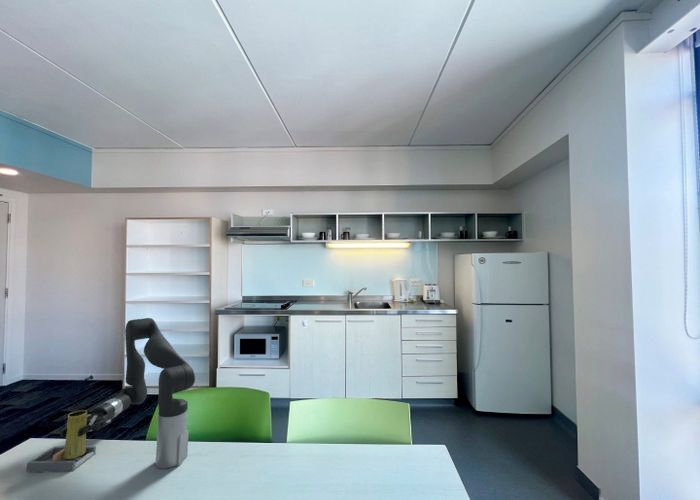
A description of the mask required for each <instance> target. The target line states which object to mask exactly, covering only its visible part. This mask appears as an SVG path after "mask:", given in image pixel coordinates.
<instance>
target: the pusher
mask: <svg viewBox="0 0 700 500" xmlns="http://www.w3.org/2000/svg"><path fill="white" fill-rule="evenodd" d="M64 449H65V448H64ZM64 449H63V450H61V451H59V452H58V453H56V454H55V455H53V461H66V460H67V459H64V458H63V456H64Z"/></svg>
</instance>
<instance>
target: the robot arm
mask: <svg viewBox="0 0 700 500" xmlns="http://www.w3.org/2000/svg"><path fill="white" fill-rule="evenodd" d="M124 333H125V337H124V339H125V353H126V371H125V383H126V384H127V385H128V386H126V387H124V388H122V389H121V390H120V392H119V393H117V394H116V395H115V396H114V397H112V398H111V399H108V400H106V401H105V402H103V403H101V404H99V405H97V406H95V407H93V408H92V409H91V410H90V411H89V413H87V425H86V426H85V427H83V428H82V429H80V430H79V431H78V437H80V436H82V435H84V434H86V435H87V433H88V432H92V431H96V432H97V431H99V430H101V429H102V428H104V427H106V426H108V425H110V424H111V422H112V419H114V418H116V417H117V416H118V415H119V414H120V413H123V412H125V410H127V409H128V408H129V406H130V405H141V404H142V403H144V402H145V400H146V398H147V395H148V388H147V384H146V379H145V372H146V362H145V360H144V358H143V356H142V355H141V354H140V352H139V351H138V349H137V348H136V341H139V340H144V339H148V340H147V341H146V343H145V344H144V348H143V354H144V356H145V358H146V359H147V361H148V362H149V363H150V364H151V365H152V366H155V367H158V368H160V369H162V370H161V371H160V373H159V376H158V403H157V404H158V416H157V417H158V419H157V432H156V433H157V434H156V448H155V449H156V450H155V467H156V468H158V469H165V470H166V469H170V468H173V467H177V466H180V465H181V464H182V463H183V462H184V460H186V458H187V457H188V451H189V448H188V447H189V431H190V429H187V427H188V425H187V424H188V409H189V408H188V407H189V406H188V401H187V400H186V399H183V398H174V397H173V395H174V394H177V393H180V392H184V391H186V390H189V389H191V388H192V387H193V386H194V385H195V382H196V374H195V371H194V369H193V367H192V366H191V365H190V364H189V363H188V362H187V361H186V360H185V359H184V358H183V357H181V355H179V354H178V353H177V351H175V349H174V348H173V346H172V345H171V343H170V342H169V340H167V339H166V337H165V336H164V334H162V332H161V330H160V328H159V327H158V324H157V323H156V321H155V320H154V318H152V317H145V318H137V319H136V318H135V319H130V320H128V321H127V323H126V326H125V329H124ZM59 433H60V435H59V437H60V438H63V437H66V433H67V422H65V424H64V428H63V429H61V430H60V432H59Z"/></svg>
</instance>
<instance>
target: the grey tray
mask: <svg viewBox="0 0 700 500" xmlns="http://www.w3.org/2000/svg"><path fill="white" fill-rule="evenodd" d="M64 448H65V445H56V446H53V447H51V448H49V449H48V450H46V451H44V452H43V453H41V454H40V455H38V456H36V457H35V458H33V459H31V460H30V461H28V462H26V470H25V471H26V473H59V472H60V473H64V472H65V473H71V472H74V471H75V470H76V469H77V468H79V467H80V466H82V465H83V464H85V462H87V461H88V460H90V459H91V458H92V457H94V456H95V455H96V452H97V451H96V450H97V446H96V445H86V452H85V453H84V454H83V455H81V456H79V457H77V458H73V459H67V460H66V461H53V455H55V454H56V453H58V452H59V451H61V450H63V449H64Z"/></svg>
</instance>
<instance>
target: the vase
mask: <svg viewBox="0 0 700 500" xmlns="http://www.w3.org/2000/svg"><path fill="white" fill-rule="evenodd" d="M87 415H88V410H86V409H85V410H84V409H81V410H76V411H73V412H70V413H69V414H68V415H67V422H66V423H67V433H66V435H65V442H64V443H65V444H64V446H65V449H64V456H63V458H64V459H73V458H77V457H79V456H81V455H83V454H84V453H85V452H86V446H87V433H86V434H84V435H82V436H80V437H78V431H79V430H80V429H82V428H83V427H85V426H86V425H87Z"/></svg>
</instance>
